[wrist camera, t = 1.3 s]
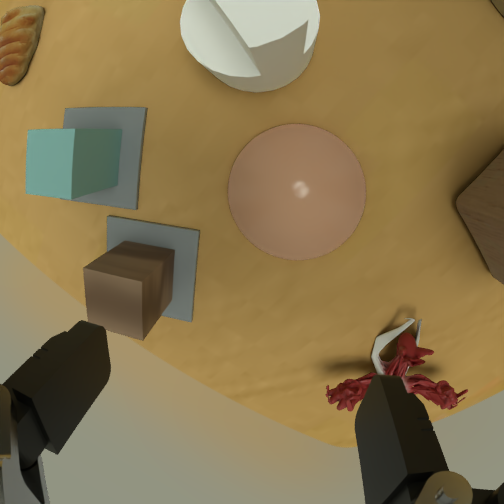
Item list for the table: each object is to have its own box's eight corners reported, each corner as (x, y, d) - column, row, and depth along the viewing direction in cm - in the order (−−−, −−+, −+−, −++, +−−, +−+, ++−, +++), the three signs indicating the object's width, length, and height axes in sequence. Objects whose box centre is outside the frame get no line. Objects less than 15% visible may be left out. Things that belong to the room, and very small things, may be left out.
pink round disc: (239, 114, 24) (238, 114, 23) (375, 140, 23) (377, 139, 23) (221, 245, 28) (220, 247, 27) (348, 267, 27) (349, 270, 26)
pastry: (37, 79, 24) (13, 76, 21) (1, 91, 25) (-22, 90, 22) (50, 4, 21) (28, -4, 18) (12, 22, 22) (-9, 16, 18)
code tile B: (67, 108, 25) (65, 108, 25) (147, 108, 25) (145, 107, 24) (61, 198, 28) (59, 198, 28) (137, 209, 28) (135, 210, 27)
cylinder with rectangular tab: (334, 62, 22) (367, 2, 10) (236, 112, 24) (193, 87, 13) (276, -18, 20) (265, -103, 8) (184, 30, 22) (118, -29, 11)
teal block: (78, 128, 25) (28, 129, 19) (122, 129, 25) (75, 128, 18) (74, 180, 27) (25, 193, 20) (117, 185, 27) (71, 199, 20)
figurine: (471, 311, 27) (501, 346, 21) (432, 396, 31) (448, 436, 25) (336, 297, 28) (347, 338, 22) (311, 392, 32) (313, 439, 26)
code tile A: (109, 215, 28) (107, 216, 28) (200, 230, 28) (198, 231, 27) (110, 300, 31) (108, 302, 31) (192, 320, 30) (191, 322, 30)
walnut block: (124, 240, 28) (83, 267, 22) (174, 249, 28) (141, 281, 21) (125, 288, 30) (88, 324, 23) (172, 299, 30) (142, 340, 23)
